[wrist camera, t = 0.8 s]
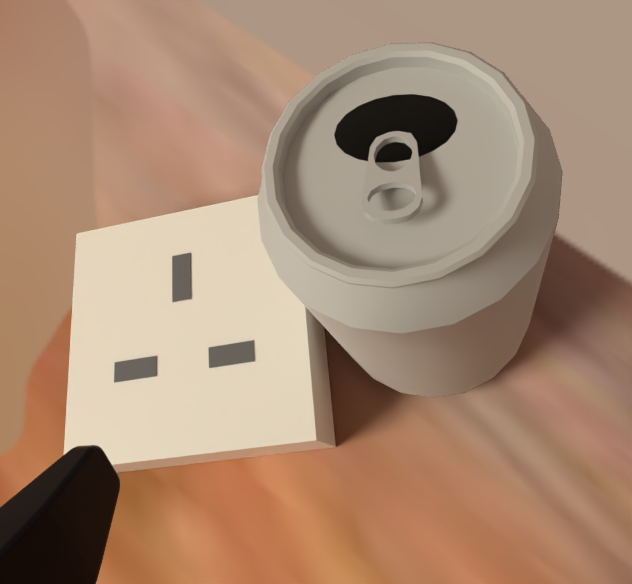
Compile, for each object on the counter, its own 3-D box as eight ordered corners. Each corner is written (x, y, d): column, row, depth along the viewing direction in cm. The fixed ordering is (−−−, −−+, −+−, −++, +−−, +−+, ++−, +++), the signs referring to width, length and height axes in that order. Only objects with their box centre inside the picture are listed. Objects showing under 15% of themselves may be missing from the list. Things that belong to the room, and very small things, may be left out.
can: (522, 216, 24) (556, -14, 13) (537, 401, 22) (593, 304, 11) (343, 230, 26) (244, 38, 15) (339, 401, 24) (218, 318, 13)
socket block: (335, 447, 23) (316, 440, 21) (108, 473, 25) (61, 470, 23) (313, 219, 27) (294, 186, 24) (115, 258, 29) (75, 233, 26)
